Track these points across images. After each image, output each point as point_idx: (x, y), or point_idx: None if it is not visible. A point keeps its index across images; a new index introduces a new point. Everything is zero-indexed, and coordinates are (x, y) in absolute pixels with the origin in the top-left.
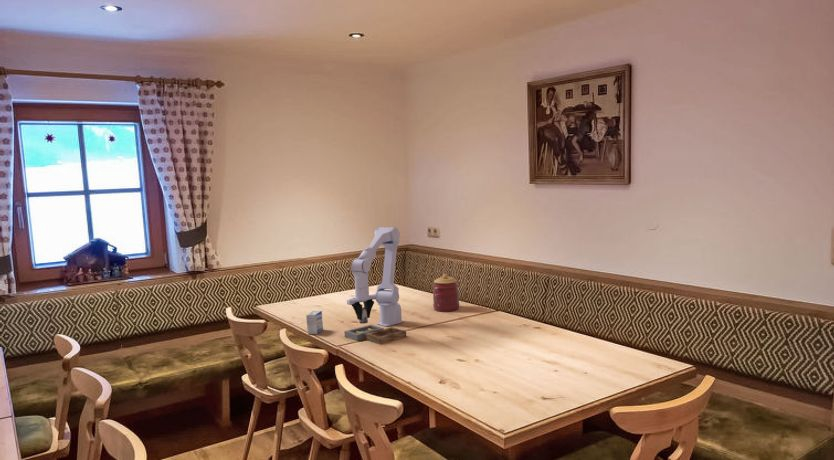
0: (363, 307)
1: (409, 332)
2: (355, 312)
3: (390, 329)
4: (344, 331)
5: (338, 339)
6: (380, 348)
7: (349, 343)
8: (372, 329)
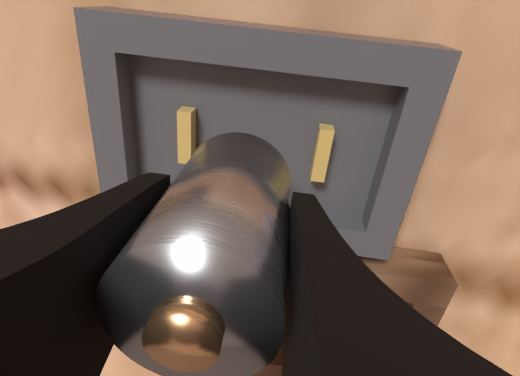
0: (194, 357)
1: (489, 336)
2: (66, 209)
3: (403, 296)
4: (75, 9)
5: (23, 32)
6: (149, 370)
7: (56, 193)
8: (375, 128)
